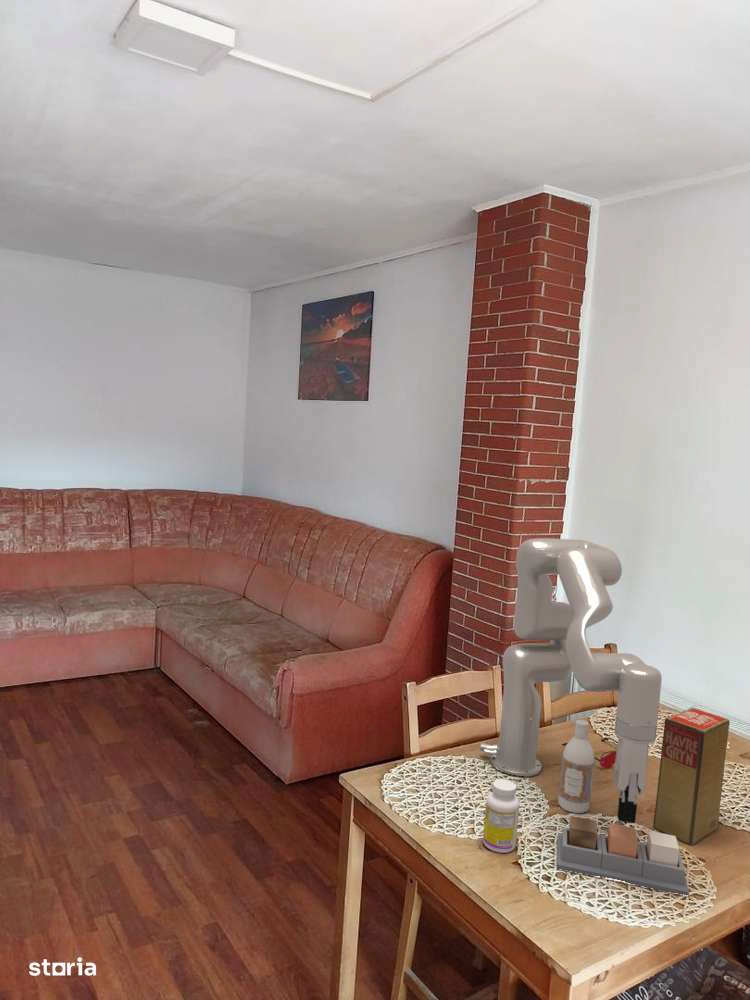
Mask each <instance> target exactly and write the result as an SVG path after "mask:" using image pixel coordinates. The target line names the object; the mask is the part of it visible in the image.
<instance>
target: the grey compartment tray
mask: <svg viewBox="0 0 750 1000" xmlns="http://www.w3.org/2000/svg"><path fill="white" fill-rule="evenodd" d="M556 838H557V839H556V870H557V869H563V870H567V871H572V872H577V873H582V874H588V875H595V876H600V877H607V878H612V879H617V880H621V881H625V882H628V883H631V884H636V885H640V886H644V887H648V888H653V889H655V890H654V891H657V890H661V891H665V892H664V893H666V892H671V893H678V894H682V895H683V894H684V895H688V896H689V897H690V890H689V886H688V883H687V880H686V879H687V878H686V876H685V874H686V873H685V872H686V869H685V867H684V866H685V865H684V862H683V859H682V855H681V852H680V850H679V856H678V864H677V867H676V866H671V865H666V864H661V863H656V862H651V861H649V860H648V855H647V850H646V849H647V842H640V841H638V844H637V853H636V858H631V857H626V856H621V855H616V854H611V853H608V846H607V838H608V835H604V834H600V833H597V841H596V850H592V849H587V848H582V847H577V846H572V845H569V827H566V826H565V827H562V833H561V836H560V835H557V837H556ZM567 871H566V872H567ZM661 891H660V892H661ZM671 893H670V894H671Z"/></svg>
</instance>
